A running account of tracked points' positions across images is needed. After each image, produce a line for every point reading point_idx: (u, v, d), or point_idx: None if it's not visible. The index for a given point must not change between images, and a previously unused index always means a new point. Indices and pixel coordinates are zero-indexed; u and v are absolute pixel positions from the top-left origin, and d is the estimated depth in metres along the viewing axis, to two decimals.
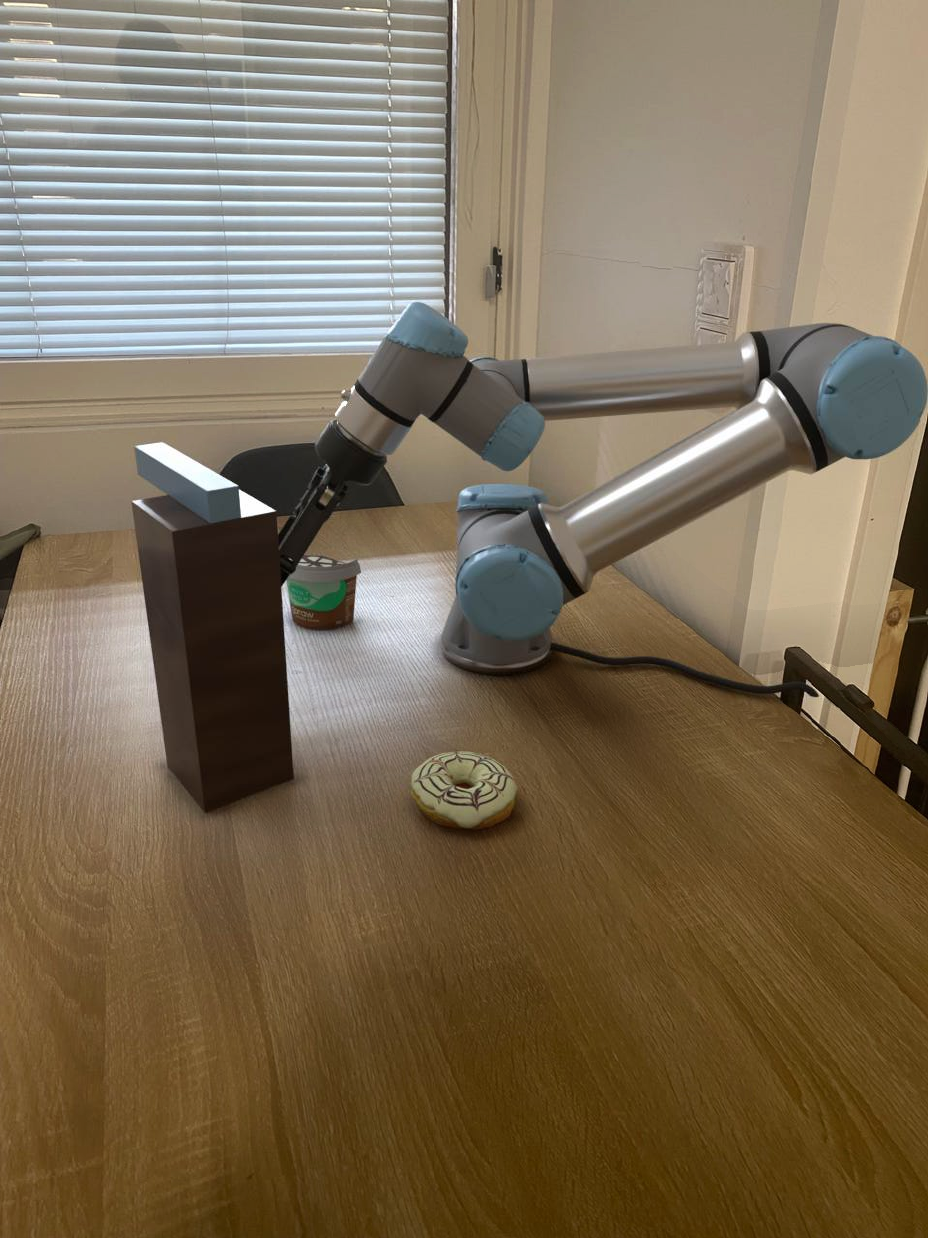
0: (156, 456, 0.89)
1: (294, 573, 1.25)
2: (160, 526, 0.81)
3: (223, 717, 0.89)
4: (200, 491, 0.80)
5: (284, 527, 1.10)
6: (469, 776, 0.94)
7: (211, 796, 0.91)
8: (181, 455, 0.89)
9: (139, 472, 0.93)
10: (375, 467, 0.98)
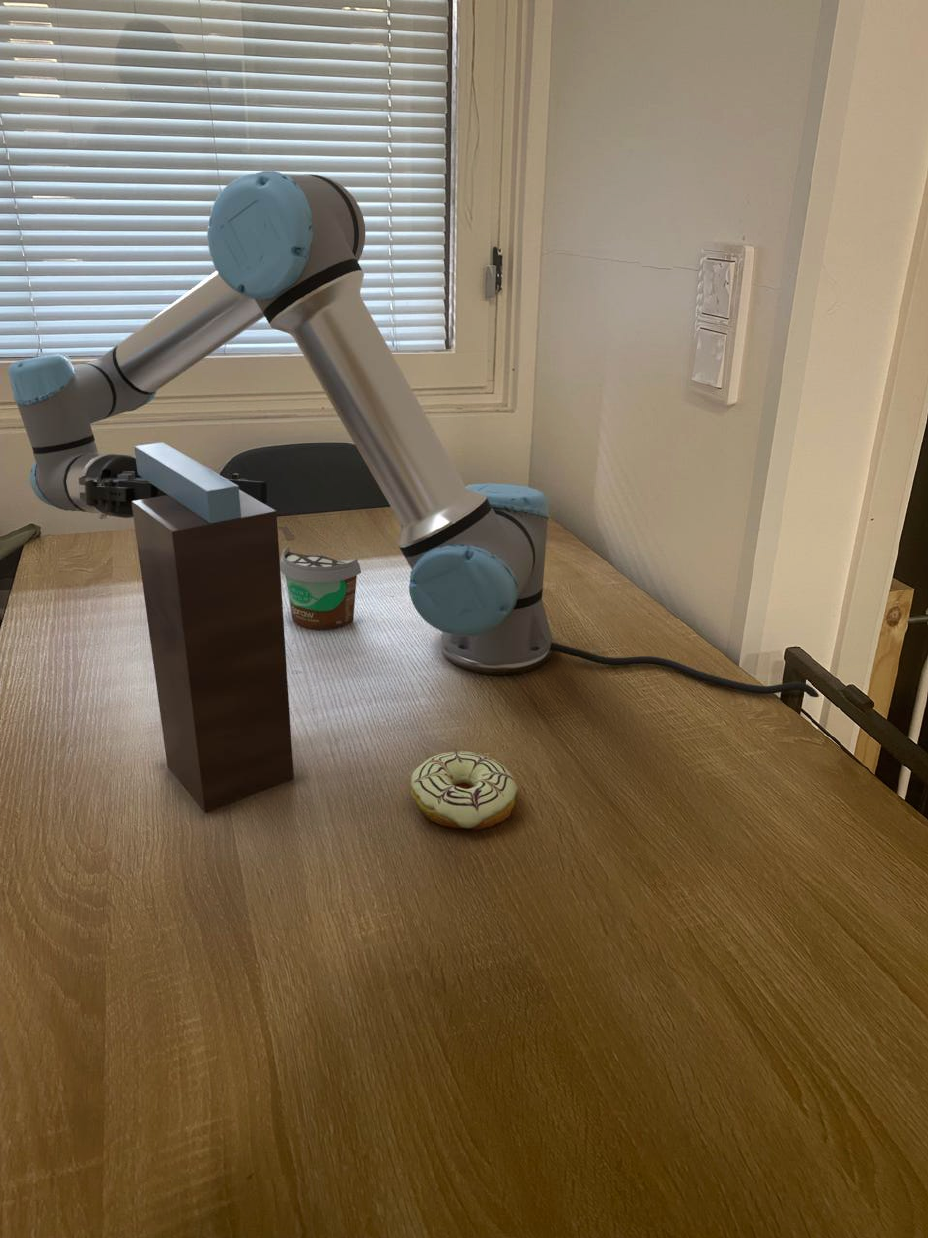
0: (156, 456, 0.89)
1: (294, 573, 1.25)
2: (160, 526, 0.81)
3: (223, 717, 0.89)
4: (200, 491, 0.80)
5: None
6: (469, 776, 0.94)
7: (211, 796, 0.91)
8: (181, 455, 0.89)
9: (139, 472, 0.93)
10: (97, 461, 1.08)
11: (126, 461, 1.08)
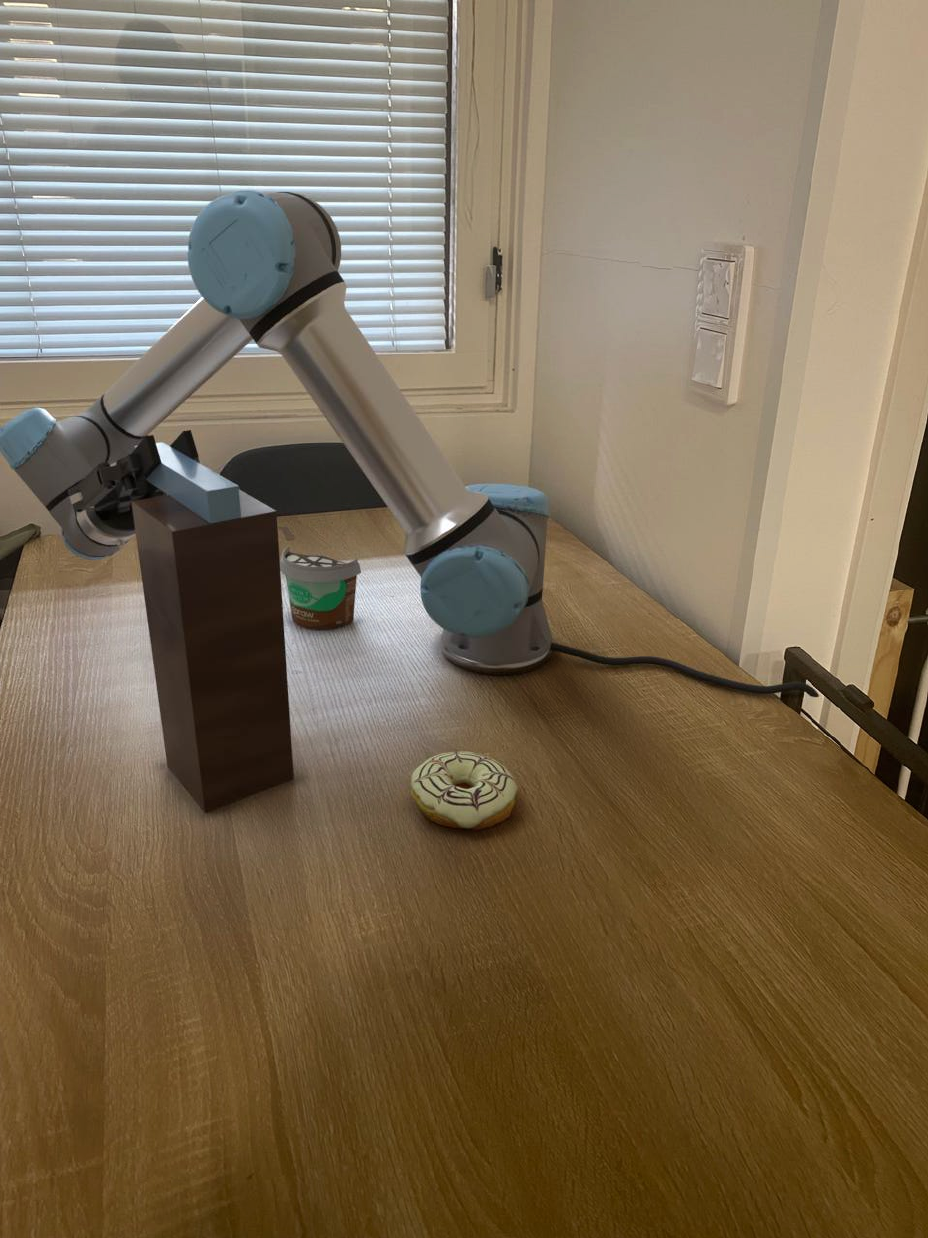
0: None
1: (294, 573, 1.25)
2: (160, 526, 0.81)
3: (223, 717, 0.89)
4: (200, 491, 0.80)
5: None
6: (469, 776, 0.94)
7: (211, 796, 0.91)
8: (181, 455, 0.89)
9: None
10: None
11: None
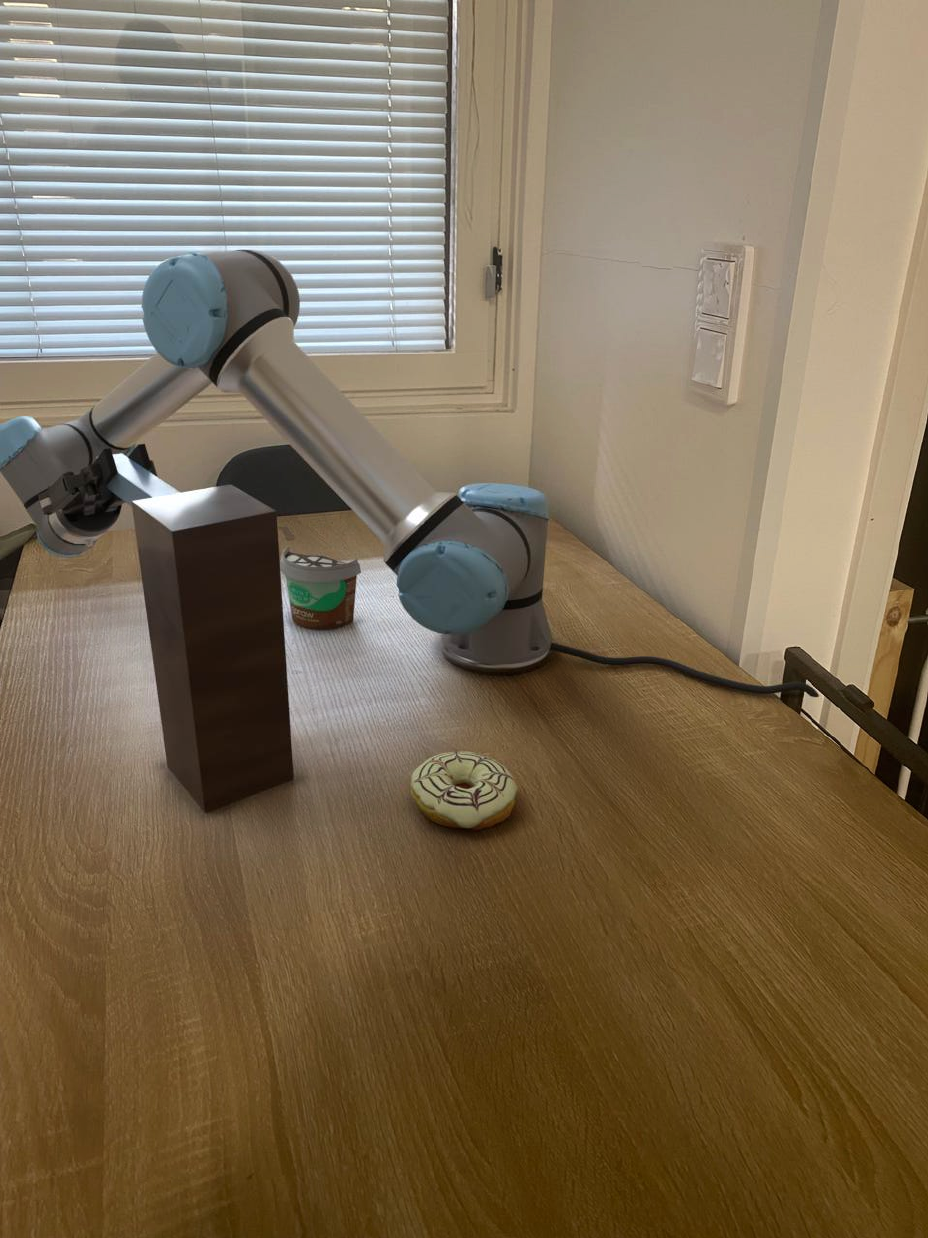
0: None
1: (294, 573, 1.25)
2: (160, 526, 0.81)
3: (223, 717, 0.89)
4: None
5: None
6: (469, 776, 0.94)
7: (211, 796, 0.91)
8: (136, 465, 1.01)
9: None
10: None
11: None
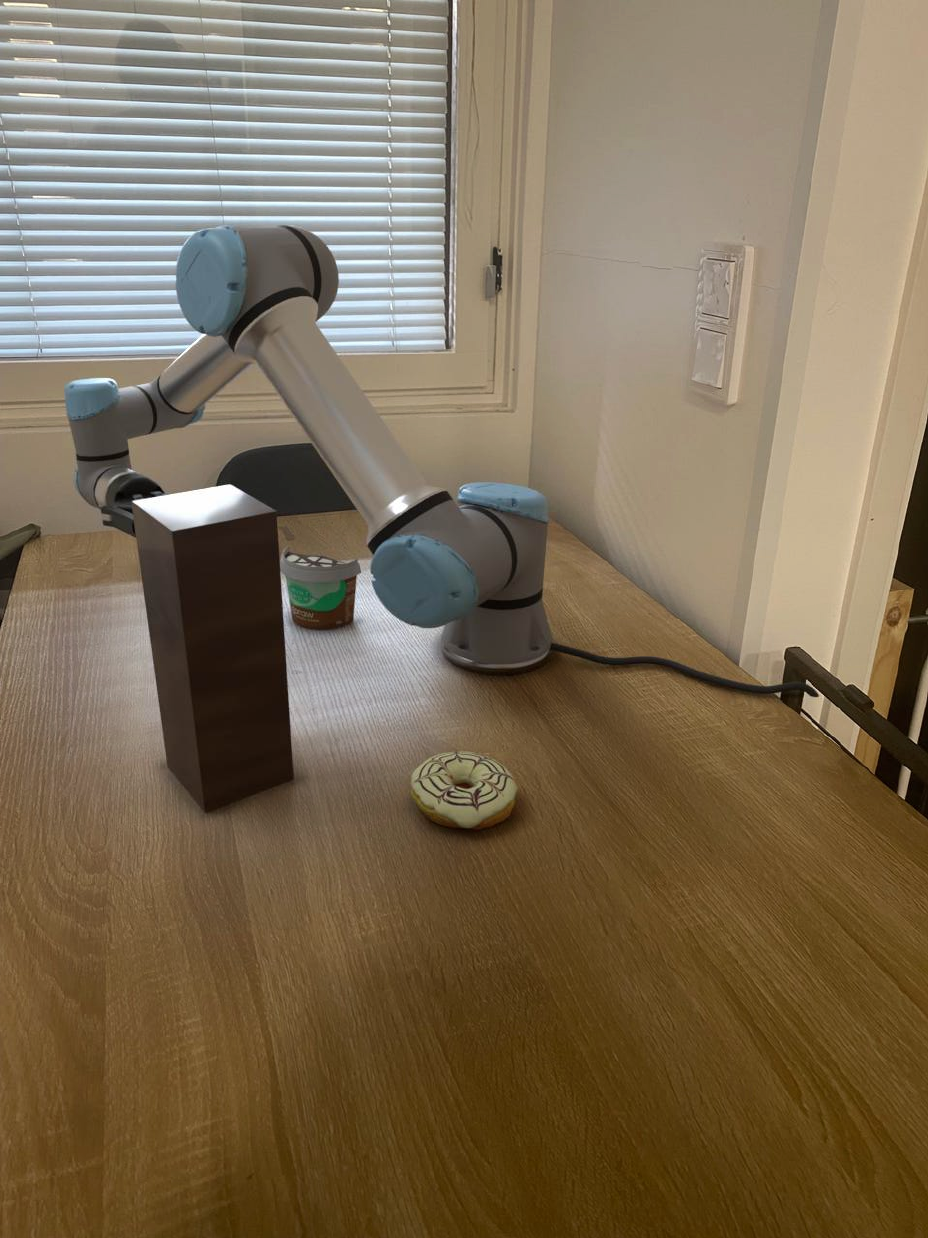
0: None
1: (294, 573, 1.25)
2: (160, 526, 0.81)
3: (223, 717, 0.89)
4: None
5: None
6: (469, 776, 0.94)
7: (211, 796, 0.91)
8: None
9: None
10: (114, 482, 1.28)
11: (136, 483, 1.27)
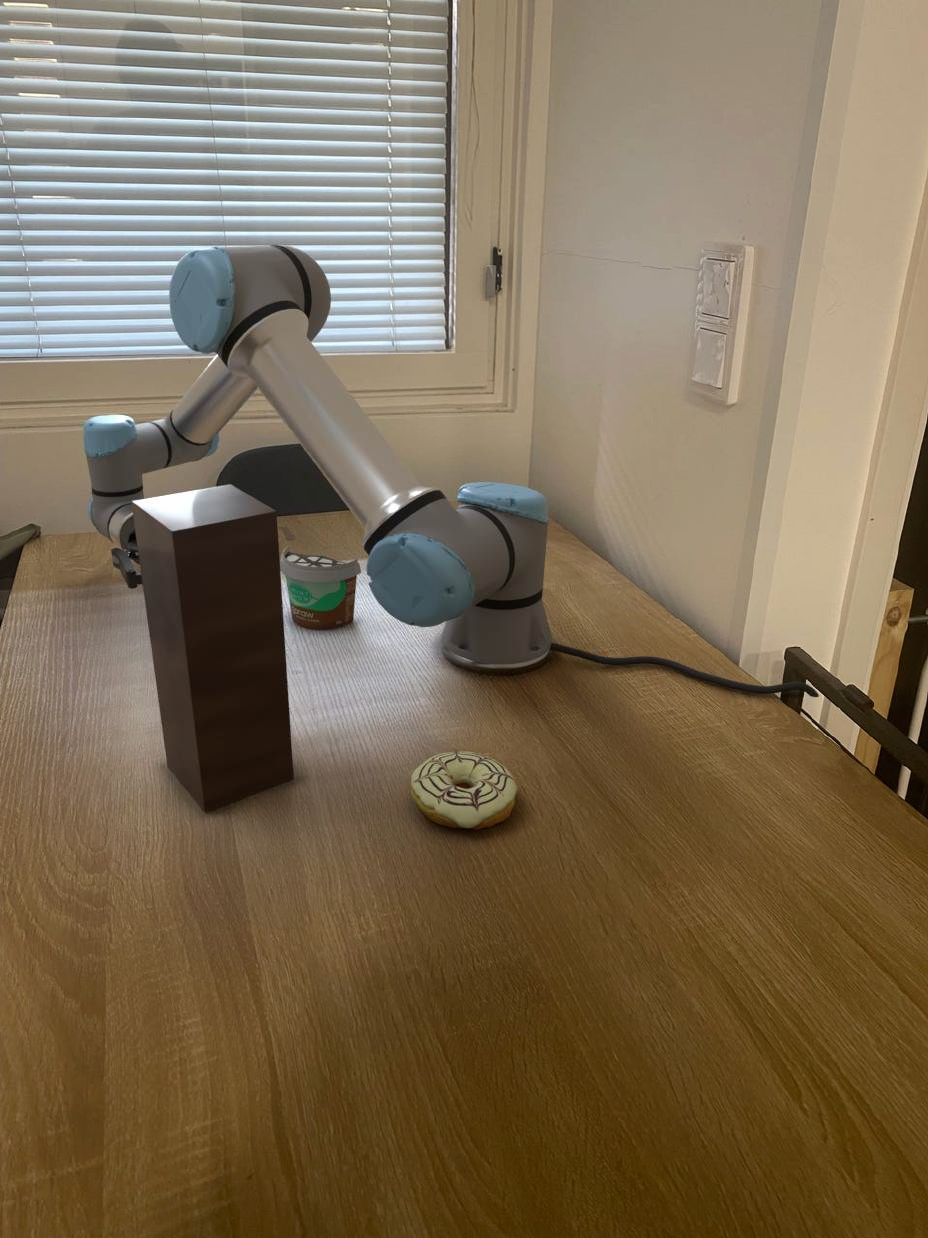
0: None
1: (294, 573, 1.25)
2: (160, 526, 0.81)
3: (223, 717, 0.89)
4: None
5: None
6: (469, 776, 0.94)
7: (211, 796, 0.91)
8: None
9: None
10: (128, 523, 1.32)
11: None
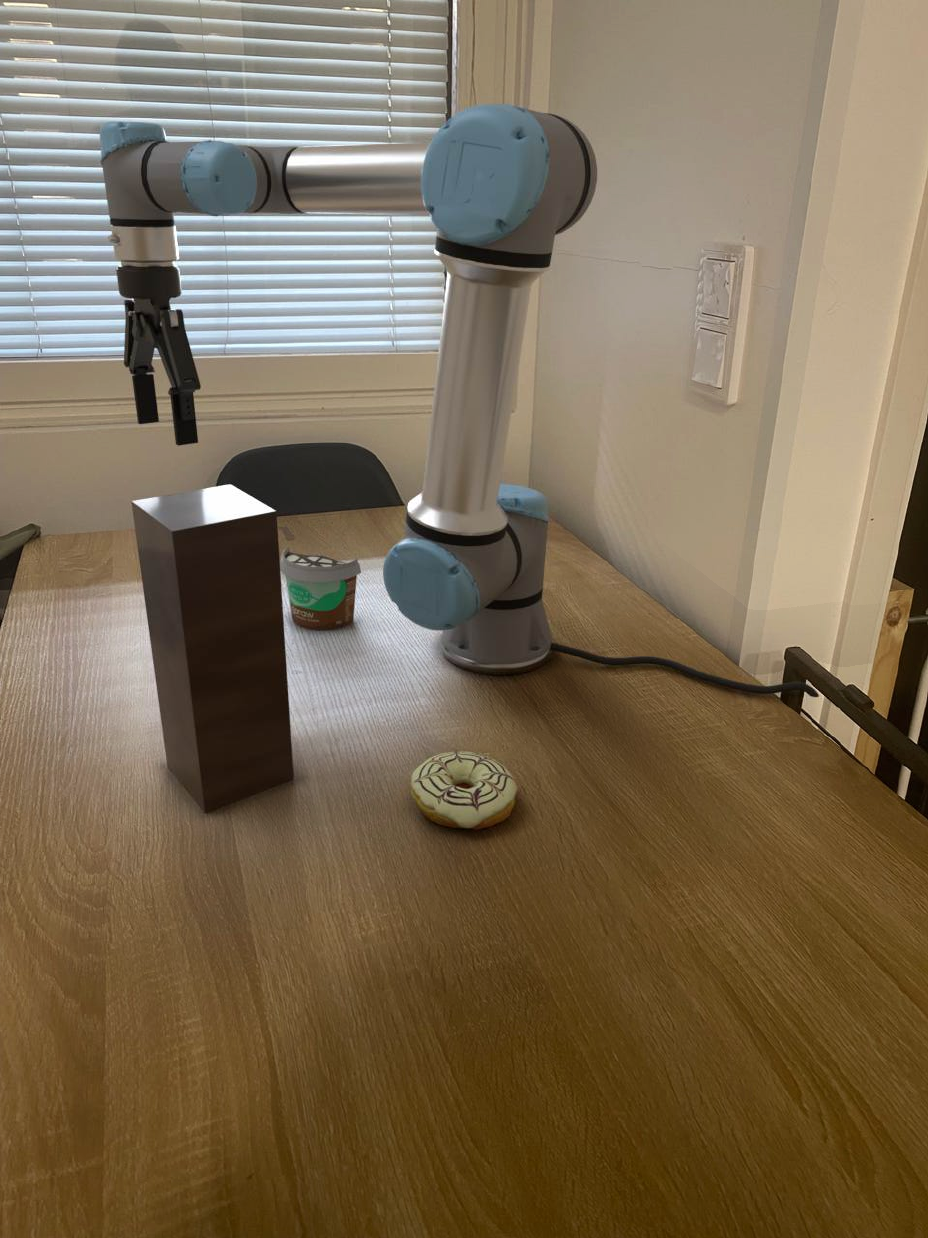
0: None
1: (294, 573, 1.25)
2: (160, 526, 0.81)
3: (223, 717, 0.89)
4: None
5: (136, 387, 1.24)
6: (469, 776, 0.94)
7: (211, 796, 0.91)
8: None
9: None
10: (178, 274, 1.13)
11: None
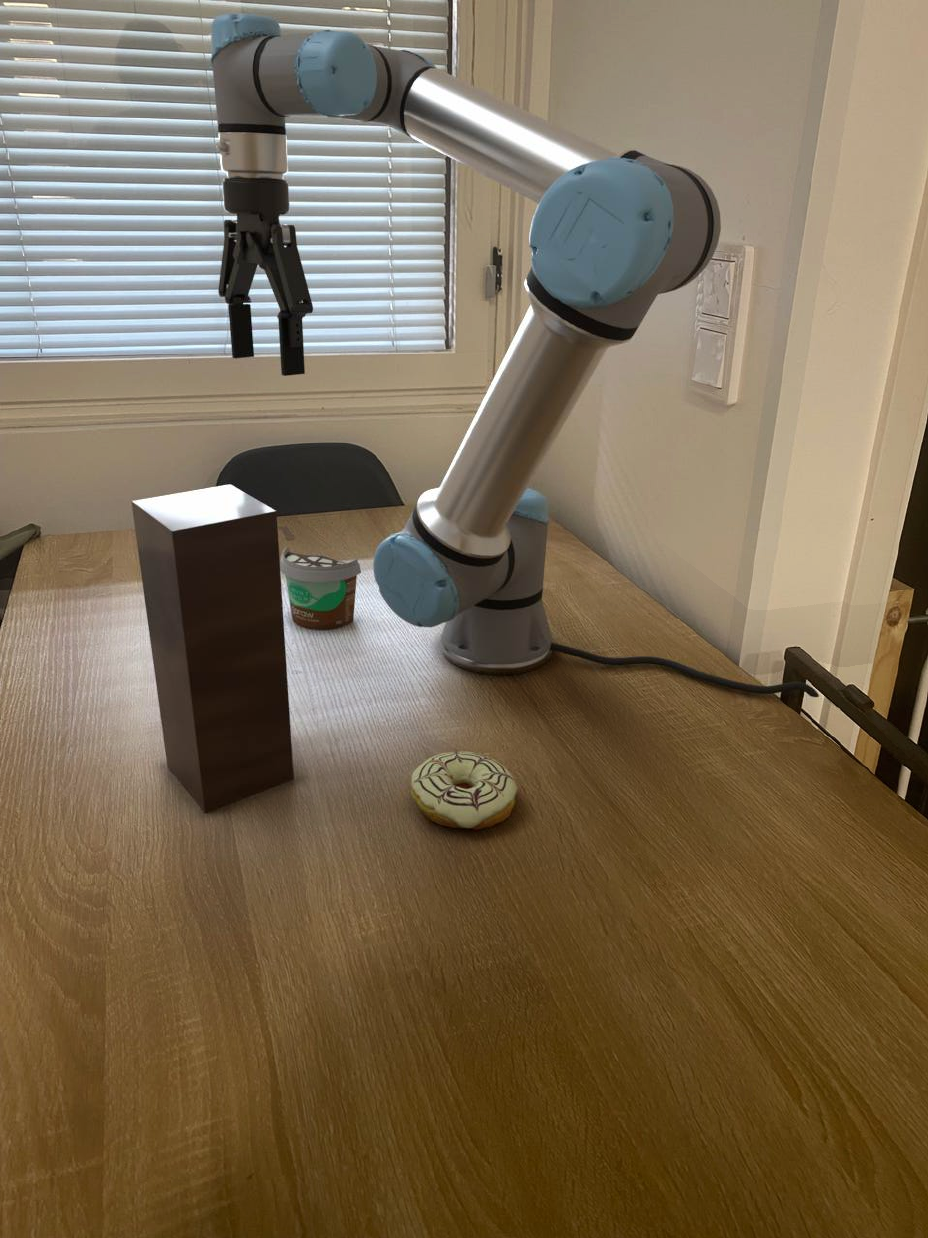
0: None
1: (294, 573, 1.25)
2: (160, 526, 0.81)
3: (223, 717, 0.89)
4: None
5: (232, 318, 1.15)
6: (469, 776, 0.94)
7: (211, 796, 0.91)
8: None
9: None
10: (288, 189, 1.05)
11: None
